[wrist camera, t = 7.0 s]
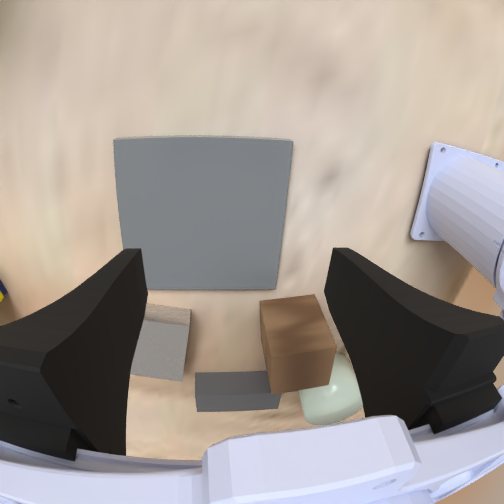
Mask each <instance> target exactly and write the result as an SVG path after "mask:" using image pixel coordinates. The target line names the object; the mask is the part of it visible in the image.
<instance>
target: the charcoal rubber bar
mask: <svg viewBox="0 0 504 504" xmlns="http://www.w3.org/2000/svg"><path fill="white" fill-rule="evenodd" d="M281 394H282V393H278V394H271V389H270V383H269V378H268V373H267V371H255V372H218V373H195V398H196V406H197V412H221V411H249V410H265V409H278V406H279V402H280V398H281Z"/></svg>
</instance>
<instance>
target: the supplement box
mask: <svg viewBox="0 0 504 504" xmlns="http://www.w3.org/2000/svg"><path fill="white" fill-rule="evenodd" d="M6 294H7V291H6V290H5V288H4V286H3V284H2V283H1V281H0V302H1V301H2V299H3V298H4V297H5V295H6Z"/></svg>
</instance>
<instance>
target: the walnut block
mask: <svg viewBox="0 0 504 504" xmlns="http://www.w3.org/2000/svg"><path fill="white" fill-rule="evenodd" d="M260 321H261V341H262V346H263V352H264V357H265V362H266V368H267V373H268V378H269V383H270V389H271V394H278V393H285V392H291V391H298V390H304V389H310V388H315V387H321V386H326V385H329V382H330V377H331V373H332V368H333V363H334V358H335V353H336V348H337V346H336V344H335V341H334V339H333V337H332V334H331V332H330V329H329V327H328V325H327V322H326V320H325V318H324V315H323V313H322V311H321V308H320V306H319V304H318V301H317V299H316V297H315V295H306V296H298V297H290V298H281V299H272V300H264V301H260Z"/></svg>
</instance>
